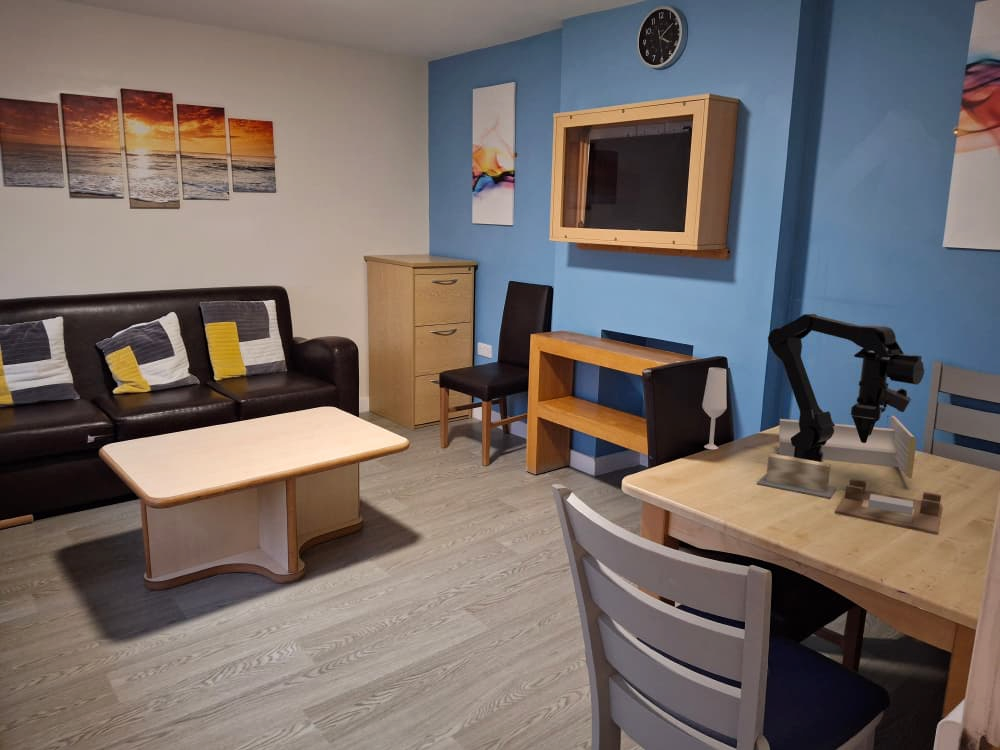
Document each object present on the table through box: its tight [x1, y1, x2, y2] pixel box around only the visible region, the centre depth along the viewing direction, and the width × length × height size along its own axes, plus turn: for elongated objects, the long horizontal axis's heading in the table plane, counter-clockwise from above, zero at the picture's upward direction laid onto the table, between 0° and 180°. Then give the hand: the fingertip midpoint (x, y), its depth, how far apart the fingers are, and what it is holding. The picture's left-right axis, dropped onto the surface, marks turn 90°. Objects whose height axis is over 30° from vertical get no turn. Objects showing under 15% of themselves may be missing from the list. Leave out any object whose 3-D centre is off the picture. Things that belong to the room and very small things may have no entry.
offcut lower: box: [860, 500, 914, 524], centre depth 160 cm, size 10×5×2 cm, turn 56°
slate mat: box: [756, 473, 837, 500], centre depth 180 cm, size 17×9×1 cm, turn 56°
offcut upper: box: [869, 494, 913, 515], centre depth 159 cm, size 8×4×2 cm, turn 60°
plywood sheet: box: [766, 453, 832, 493], centre depth 179 cm, size 14×3×6 cm, turn 56°
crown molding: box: [778, 418, 901, 469], centre depth 202 cm, size 31×12×4 cm
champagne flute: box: [701, 367, 727, 450], centre depth 208 cm, size 7×7×24 cm
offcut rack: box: [834, 478, 943, 535], centre depth 165 cm, size 20×20×4 cm
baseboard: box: [886, 415, 917, 479], centre depth 193 cm, size 31×3×12 cm, turn 159°
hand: (866, 438), depth 180 cm, fingers open, 9 cm apart
